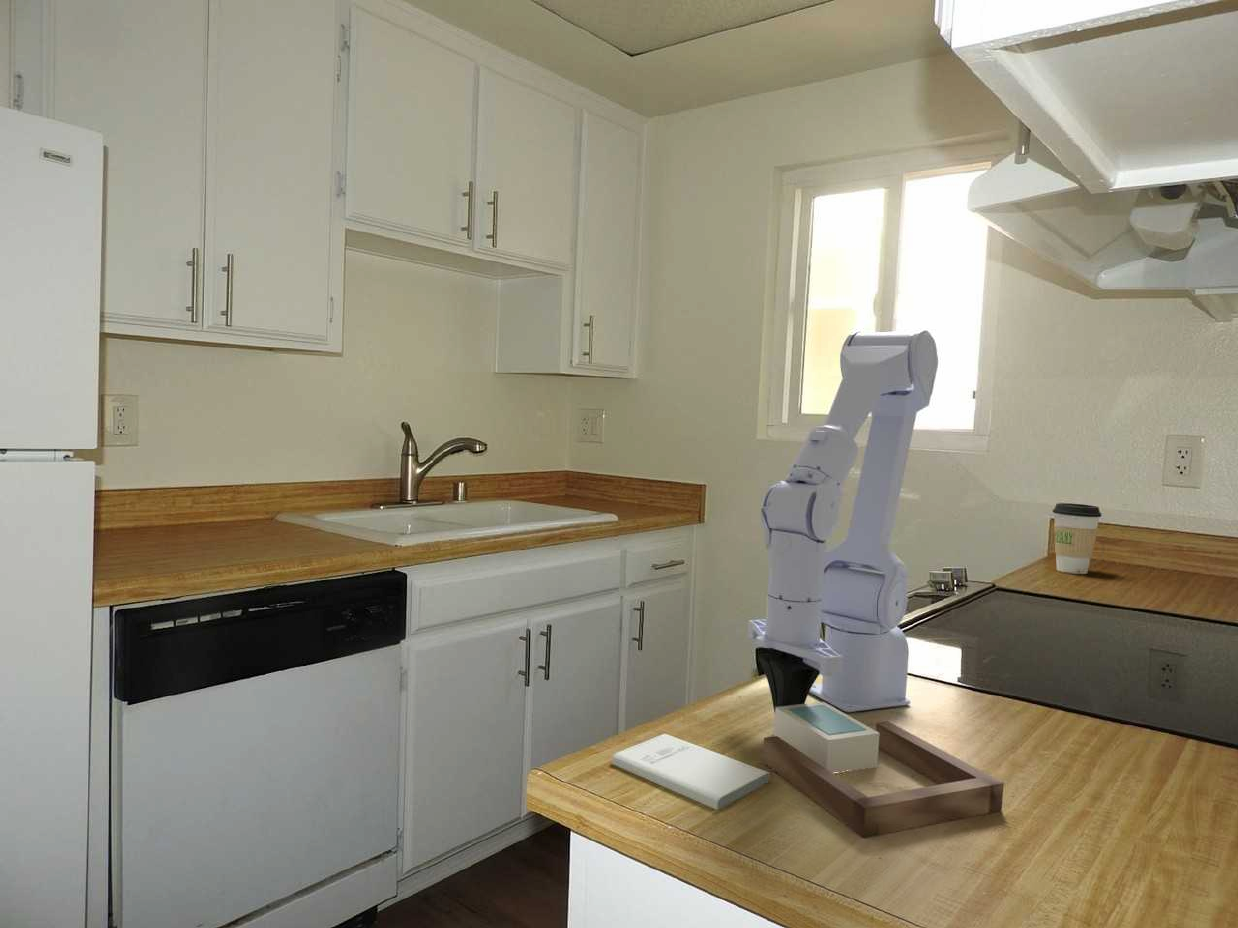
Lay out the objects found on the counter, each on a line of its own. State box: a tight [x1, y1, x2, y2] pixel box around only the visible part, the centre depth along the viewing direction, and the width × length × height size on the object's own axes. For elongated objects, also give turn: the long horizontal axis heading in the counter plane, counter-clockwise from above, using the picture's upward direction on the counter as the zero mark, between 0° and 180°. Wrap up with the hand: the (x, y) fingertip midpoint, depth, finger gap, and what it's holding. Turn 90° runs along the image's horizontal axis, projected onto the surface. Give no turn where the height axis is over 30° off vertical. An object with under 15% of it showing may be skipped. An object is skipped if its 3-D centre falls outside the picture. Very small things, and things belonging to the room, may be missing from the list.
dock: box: [762, 721, 1005, 839], centre depth 79 cm, size 15×15×2 cm
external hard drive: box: [611, 733, 771, 811], centre depth 81 cm, size 2×8×12 cm
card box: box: [773, 701, 880, 773], centre depth 87 cm, size 6×9×4 cm, turn 23°
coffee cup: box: [1052, 502, 1102, 575], centre depth 195 cm, size 10×10×15 cm
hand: (787, 721), depth 92 cm, fingers closed
